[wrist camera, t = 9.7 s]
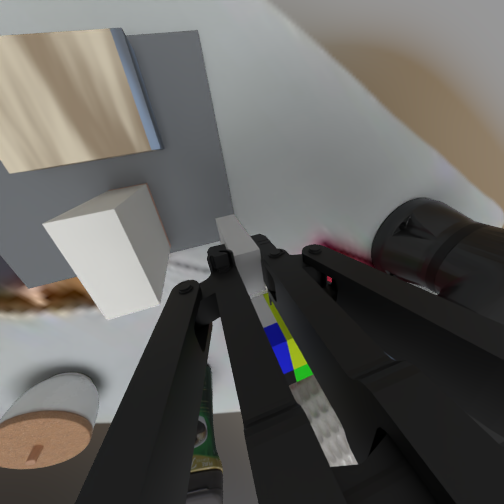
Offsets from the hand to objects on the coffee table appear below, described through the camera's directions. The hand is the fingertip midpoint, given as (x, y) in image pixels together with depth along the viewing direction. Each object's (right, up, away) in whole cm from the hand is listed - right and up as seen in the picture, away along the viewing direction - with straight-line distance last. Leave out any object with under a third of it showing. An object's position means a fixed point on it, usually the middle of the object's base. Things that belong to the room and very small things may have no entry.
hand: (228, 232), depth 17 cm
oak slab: (-8, +12, +2) cm, 14 cm away
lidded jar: (-27, -23, +16) cm, 39 cm away
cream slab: (-11, +2, +8) cm, 14 cm away
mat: (-14, +7, +6) cm, 17 cm away
